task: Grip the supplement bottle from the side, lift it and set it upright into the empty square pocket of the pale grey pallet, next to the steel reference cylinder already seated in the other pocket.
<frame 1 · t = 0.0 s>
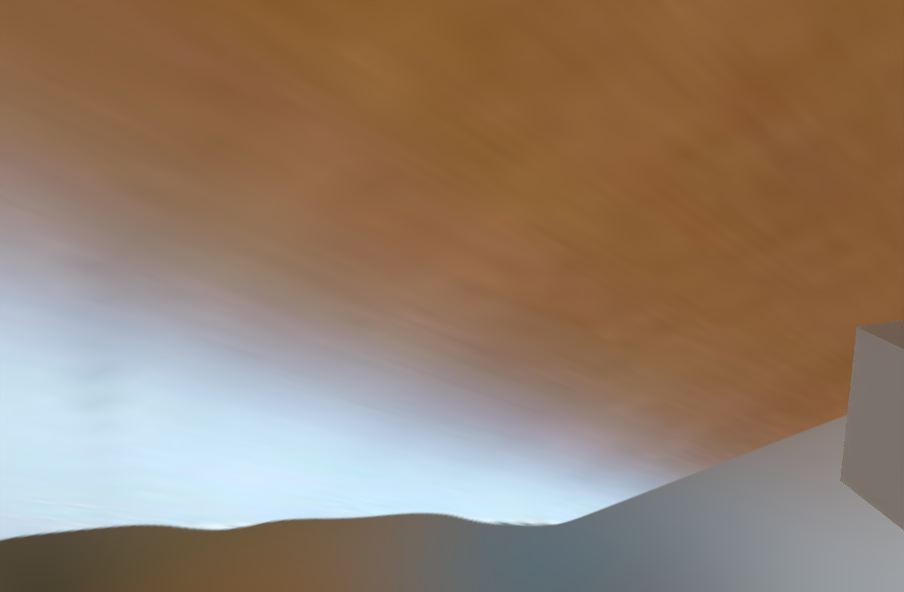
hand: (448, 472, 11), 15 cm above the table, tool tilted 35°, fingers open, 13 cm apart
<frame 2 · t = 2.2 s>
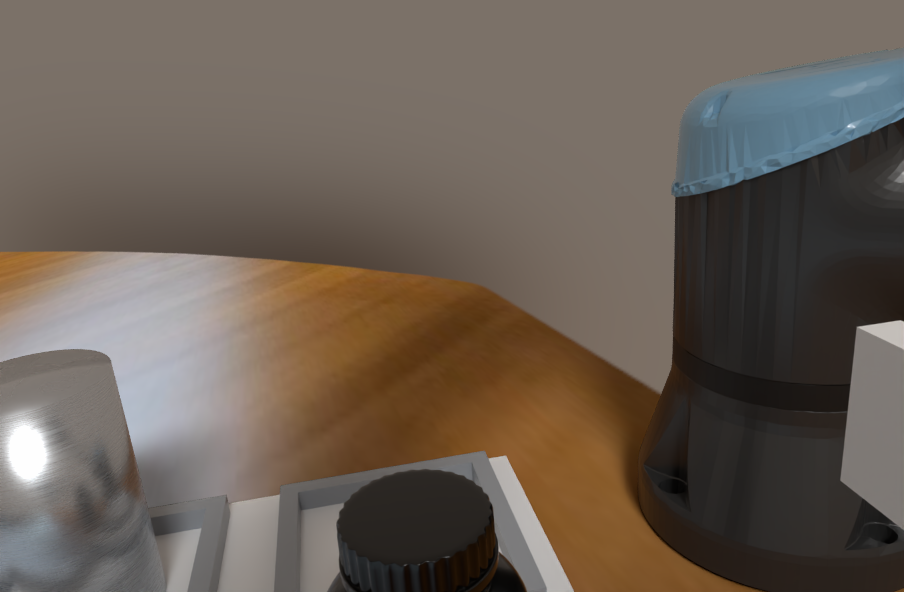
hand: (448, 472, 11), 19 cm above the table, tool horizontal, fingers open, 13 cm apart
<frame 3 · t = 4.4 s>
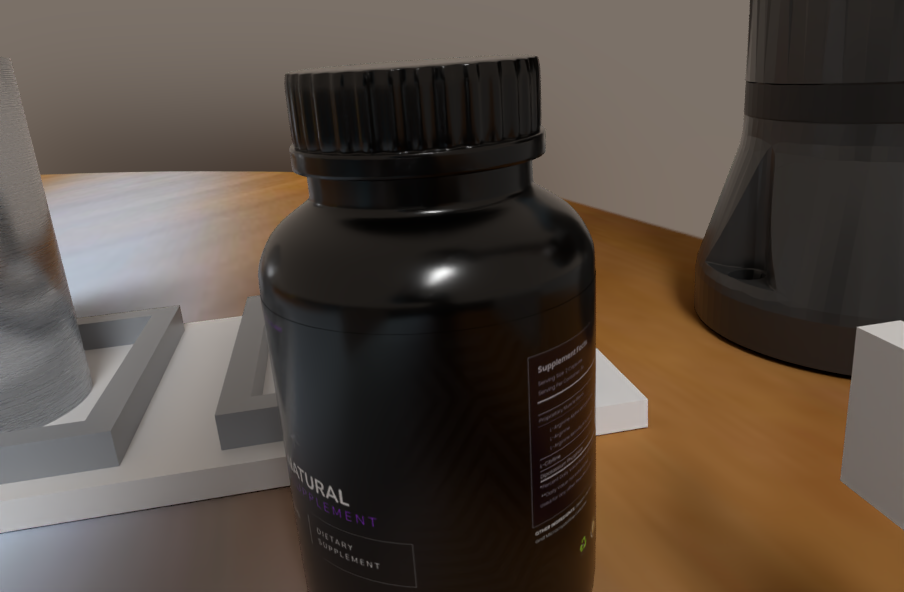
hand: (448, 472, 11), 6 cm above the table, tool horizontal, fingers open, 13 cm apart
supplement bottle: (455, 589, 18), on the table
pallet: (204, 402, 28), on the table
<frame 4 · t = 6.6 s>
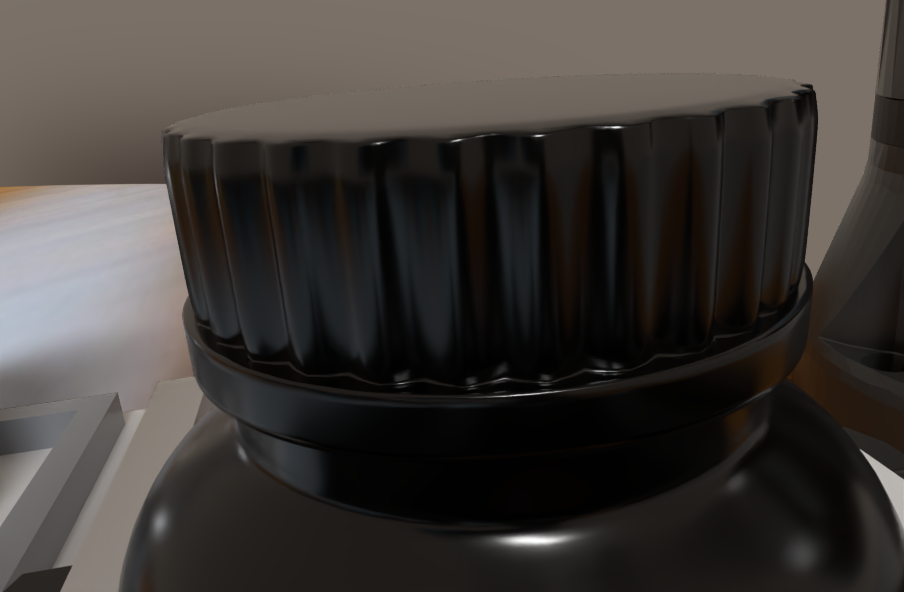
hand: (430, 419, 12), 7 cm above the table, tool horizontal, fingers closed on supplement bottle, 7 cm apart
pallet: (139, 548, 20), on the table
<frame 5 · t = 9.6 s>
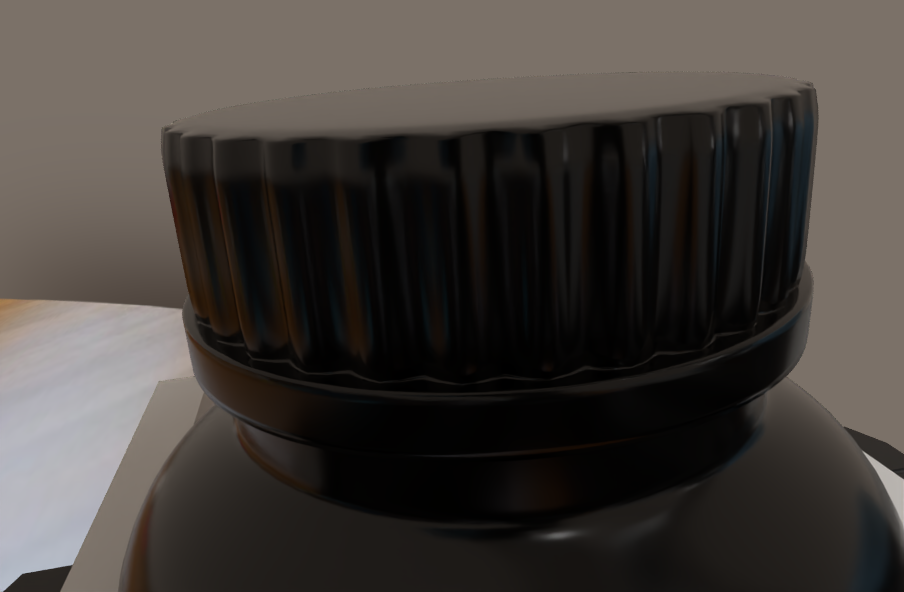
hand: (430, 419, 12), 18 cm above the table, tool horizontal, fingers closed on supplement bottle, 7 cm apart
when the fingers open (9 cm above the table, at t = 12.4 s): supplement bottle drops 1 cm, resting on pallet.
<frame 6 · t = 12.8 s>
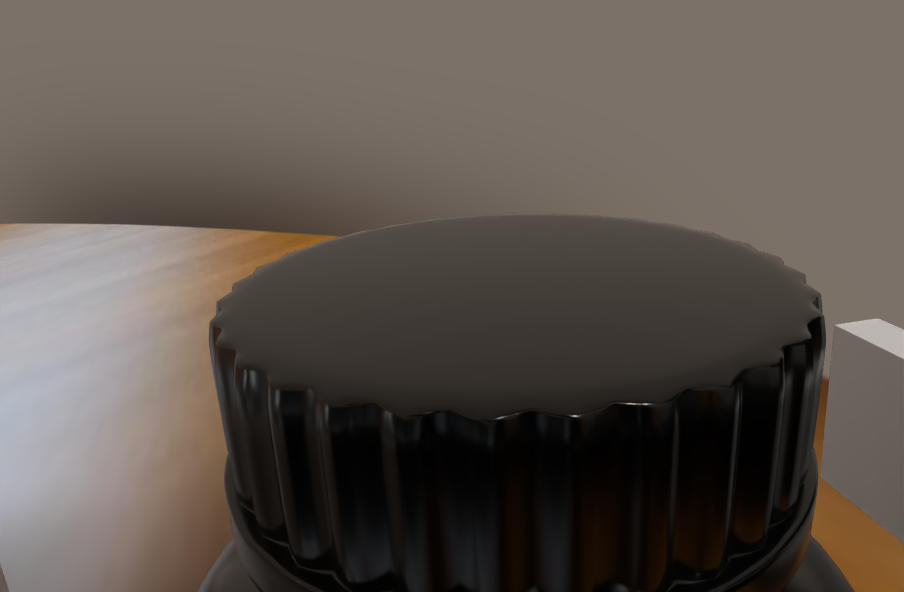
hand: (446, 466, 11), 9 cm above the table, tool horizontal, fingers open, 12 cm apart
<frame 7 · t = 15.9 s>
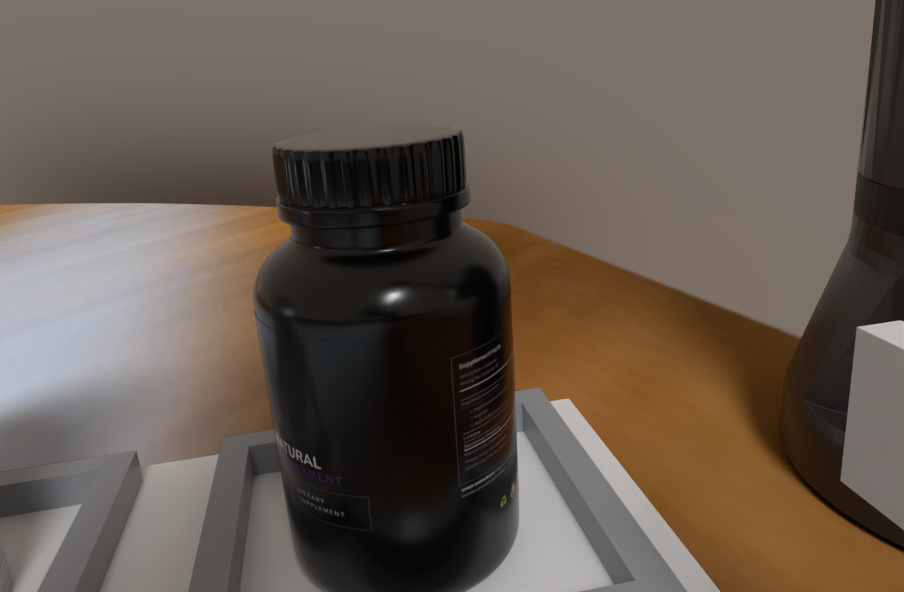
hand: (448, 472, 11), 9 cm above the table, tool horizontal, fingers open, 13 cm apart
supplement bottle: (410, 542, 22), point 1 cm above the table, touching pallet
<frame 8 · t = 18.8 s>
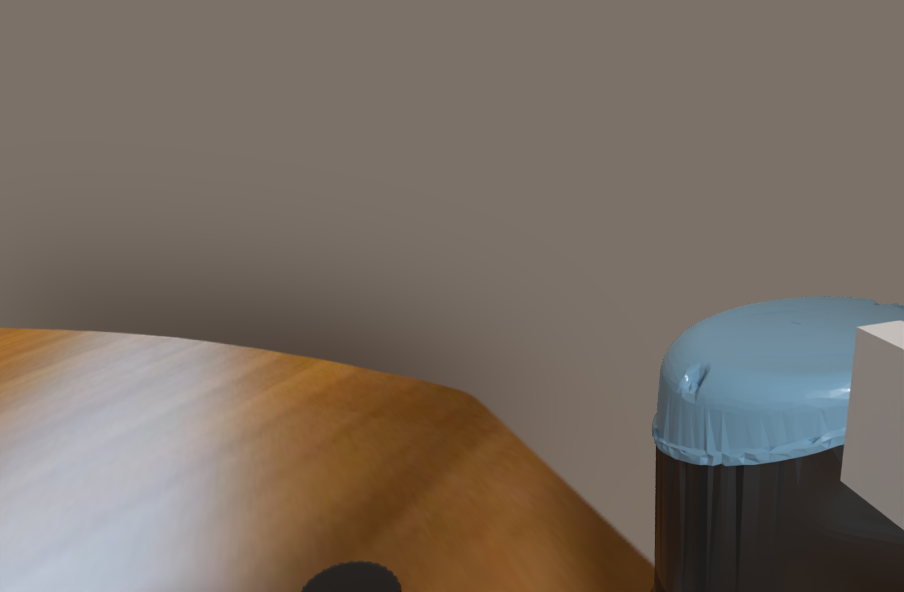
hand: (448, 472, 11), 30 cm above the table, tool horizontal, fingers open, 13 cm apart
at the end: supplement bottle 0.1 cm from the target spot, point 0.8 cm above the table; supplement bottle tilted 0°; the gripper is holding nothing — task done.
